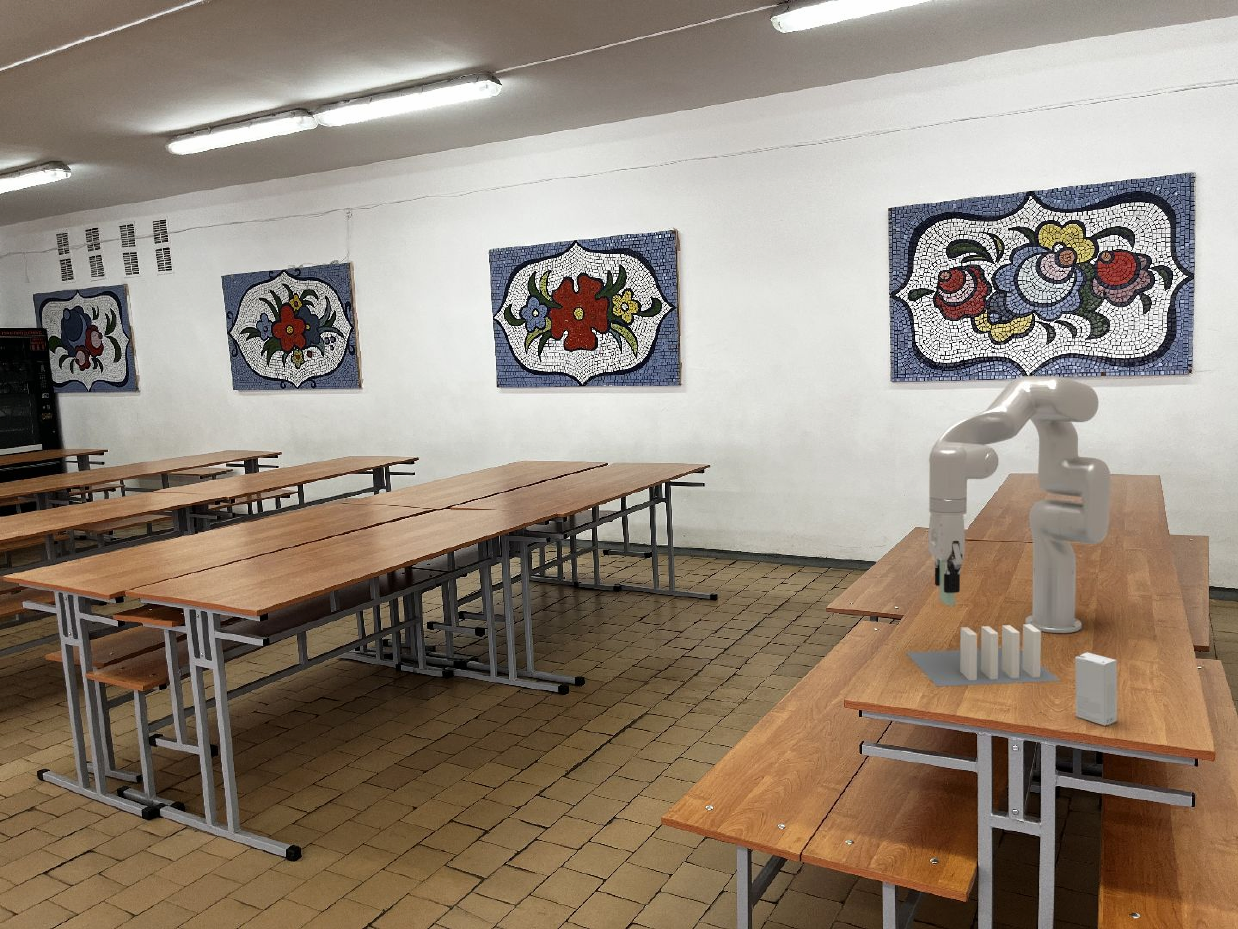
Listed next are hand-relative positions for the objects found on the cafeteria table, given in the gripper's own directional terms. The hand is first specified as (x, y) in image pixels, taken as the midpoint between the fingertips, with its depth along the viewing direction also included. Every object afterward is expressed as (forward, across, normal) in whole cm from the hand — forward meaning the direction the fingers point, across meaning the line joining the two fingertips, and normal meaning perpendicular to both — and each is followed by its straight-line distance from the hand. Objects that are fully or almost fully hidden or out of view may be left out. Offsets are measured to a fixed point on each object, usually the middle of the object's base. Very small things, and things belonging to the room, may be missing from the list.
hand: (947, 587), depth 201 cm
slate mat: (+19, -2, +8) cm, 21 cm away
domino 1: (+19, +3, +4) cm, 19 cm away
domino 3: (+19, +3, +13) cm, 23 cm away
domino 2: (+19, +3, +8) cm, 21 cm away
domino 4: (+19, +3, +17) cm, 25 cm away
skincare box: (+19, +26, +19) cm, 38 cm away
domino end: (+3, 0, 0) cm, 3 cm away
